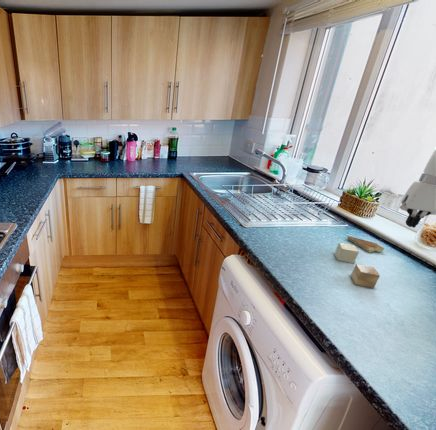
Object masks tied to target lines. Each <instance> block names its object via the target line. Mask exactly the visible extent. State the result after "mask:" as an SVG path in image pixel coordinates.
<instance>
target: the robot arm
mask: <svg viewBox="0 0 436 430" xmlns="http://www.w3.org/2000/svg"><path fill="white" fill-rule="evenodd" d="M427 161H428V162H427V163H426V165H425V167H424V169H423V171H422V173H421V175H420V177H419V178H418V179H415V180H414V181H413V182H412V183H411V185H410V186H409V187H408V189H407V190H406V191H405V193H404V195H403V196H402V198H401V200H400V203H401V205H400V206H399V209H400V210H401V211H405V212H407V214H408V216H407V218H406V220H405V225H407V226H408V227H409V228H413V229H415V228H416V227H417V226H418V225H419V223H420V221H421V220H422V219H424V218H425V217H427V216H430V215H431V216H432V215H436V147H435V148H434V149H433V152H432V153H431V155H430V158H429V159H428V160H427Z"/></svg>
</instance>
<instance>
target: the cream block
mask: <svg viewBox="0 0 436 430" xmlns="http://www.w3.org/2000/svg"><path fill="white" fill-rule="evenodd" d="M359 253H360V252H359V249H358V248H357V247H356V245H353V244H348V243H343V242H338V244H337V246H336V249H335V252H334V256H335V257H336V259H337V261H340V262H345V263H350V264H355V262H356V259H357V257H358V255H359Z"/></svg>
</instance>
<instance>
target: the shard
mask: <svg viewBox="0 0 436 430" xmlns="http://www.w3.org/2000/svg"><path fill="white" fill-rule="evenodd" d="M346 238H347V239H346V240H348V241H350V242H352V243H353V244H355V246H358V247H360V248H361V249H364V250H365V251H367V252H368V253H373V252H380V253H382V252H383V251H384V250H385V247H383V246H381V245H379V244H378V243H376V242H372V241H368V240H365V239H361V238H358V237H353V236H349V235H346Z"/></svg>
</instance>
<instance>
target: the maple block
mask: <svg viewBox="0 0 436 430" xmlns="http://www.w3.org/2000/svg"><path fill="white" fill-rule="evenodd" d="M350 277H351V279H352V281H353V283H354V285H357V286H361V287H365V288H369V289H370V288H371V289H374V288H375V287H376V285H377V282H378V281H379V279H380V277H381V276H380V274H379V272H378V271H377V270H376V268H375V267H373V266H368V265H363V264H359V263H356V264H355V265H354V267H353V269H352V272H351V274H350Z"/></svg>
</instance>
